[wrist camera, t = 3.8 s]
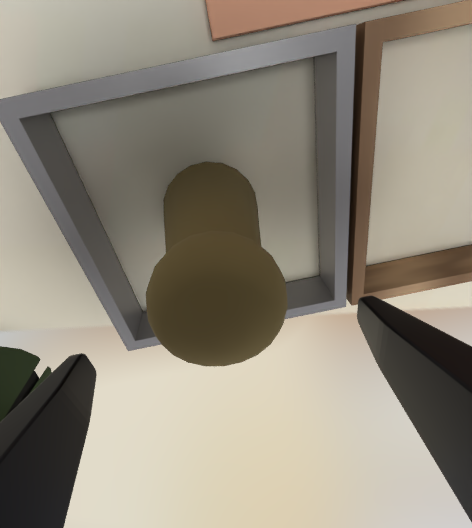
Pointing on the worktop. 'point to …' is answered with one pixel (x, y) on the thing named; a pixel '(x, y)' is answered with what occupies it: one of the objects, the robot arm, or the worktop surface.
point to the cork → (214, 271)
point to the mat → (274, 13)
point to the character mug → (17, 378)
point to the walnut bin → (362, 159)
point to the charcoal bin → (174, 74)
